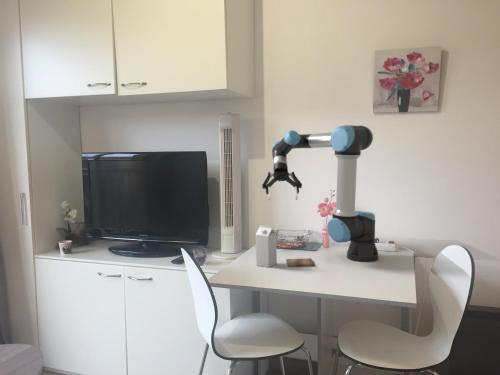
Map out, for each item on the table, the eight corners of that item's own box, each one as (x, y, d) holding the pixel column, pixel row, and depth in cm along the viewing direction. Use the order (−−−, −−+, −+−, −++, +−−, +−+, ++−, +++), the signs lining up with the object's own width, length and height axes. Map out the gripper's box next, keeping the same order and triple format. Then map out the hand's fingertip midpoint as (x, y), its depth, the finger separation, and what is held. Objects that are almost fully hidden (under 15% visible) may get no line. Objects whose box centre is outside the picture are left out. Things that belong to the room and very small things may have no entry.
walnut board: (310, 260, 205) (310, 258, 205) (314, 266, 195) (314, 264, 195) (286, 261, 205) (286, 259, 204) (288, 267, 195) (288, 265, 195)
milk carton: (264, 261, 204) (263, 223, 202) (276, 263, 200) (276, 224, 198) (256, 265, 199) (255, 226, 197) (268, 267, 194) (267, 227, 192)
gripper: (303, 170, 226) (307, 202, 213) (256, 171, 225) (258, 203, 212) (304, 161, 220) (308, 193, 207) (257, 162, 220) (258, 194, 206)
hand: (283, 198), depth 209 cm, fingers open, 13 cm apart
